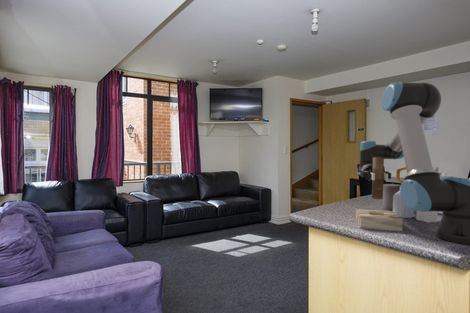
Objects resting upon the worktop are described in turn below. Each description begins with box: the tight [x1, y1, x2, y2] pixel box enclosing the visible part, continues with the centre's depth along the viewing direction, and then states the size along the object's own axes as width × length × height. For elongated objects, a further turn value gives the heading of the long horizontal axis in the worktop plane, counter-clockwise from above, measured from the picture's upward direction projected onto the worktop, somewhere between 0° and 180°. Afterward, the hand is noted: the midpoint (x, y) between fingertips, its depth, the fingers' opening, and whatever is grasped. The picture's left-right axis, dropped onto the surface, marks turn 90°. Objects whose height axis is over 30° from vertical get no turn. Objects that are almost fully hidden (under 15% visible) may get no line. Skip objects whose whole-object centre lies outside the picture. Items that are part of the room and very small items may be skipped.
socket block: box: [355, 209, 404, 232], centre depth 135 cm, size 16×16×5 cm
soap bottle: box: [393, 166, 415, 219], centre depth 152 cm, size 9×9×25 cm
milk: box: [415, 211, 438, 223], centre depth 143 cm, size 6×6×22 cm
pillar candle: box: [382, 182, 401, 211], centre depth 170 cm, size 10×10×15 cm
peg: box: [371, 158, 385, 200], centre depth 134 cm, size 4×4×18 cm
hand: (380, 177), depth 129 cm, fingers closed on peg, 4 cm apart
